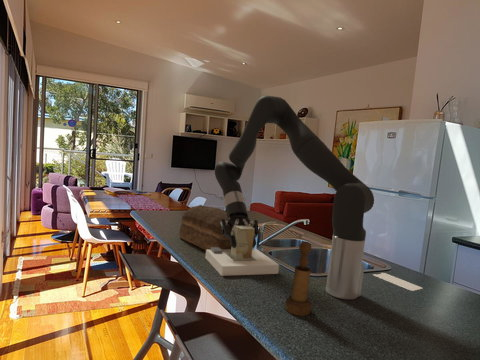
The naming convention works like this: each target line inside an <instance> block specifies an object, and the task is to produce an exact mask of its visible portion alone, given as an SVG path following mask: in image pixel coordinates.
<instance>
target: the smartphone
mask: <svg viewBox="0 0 480 360" xmlns="http://www.w3.org/2000/svg"><path fill="white" fill-rule="evenodd" d="M371 276H372V277H374V278H377V279H378V280H379V279H380V280H382V281H385V282H387V283H389V284H392V285H395V286H397V287H400V288H403V289H405V290H408V291H409V292H417V291H421V290H424V289H425V288H424V287H423V286H420V285H417V284H414V283H412V282H409V281H407V280H404V279H402V278H399V277H397V276H395V275H391V274H389V273H386V272H377V273H372V274H371Z"/></svg>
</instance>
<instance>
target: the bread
mask: <svg viewBox="0 0 480 360" xmlns="http://www.w3.org/2000/svg"><path fill="white" fill-rule="evenodd" d="M222 219H225V220H228V219H227V214H226V210H224V209H221V208H219V207H214V206H206V205H202V204H198V205H195V206H191V207H190V208H188V209H187V210H186V211H184V213H183V214H182V217H181V225H180V226H179V227H180V229H179V238H180V239H181V240H183V241H186V242H188V243H190V244H192V245H194V246H196V247H199V248H200V249H202V250H204V251H206V250H211V247H219V248H220V249H221V250H222V249H231V248H232V247H231V245H230V240H229V238H228V237H224V236H223V233H222V230H221V226H220V222H221V220H222ZM227 228H228V232H230V231H231V227H230V226H229V225H228V224H227Z"/></svg>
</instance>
